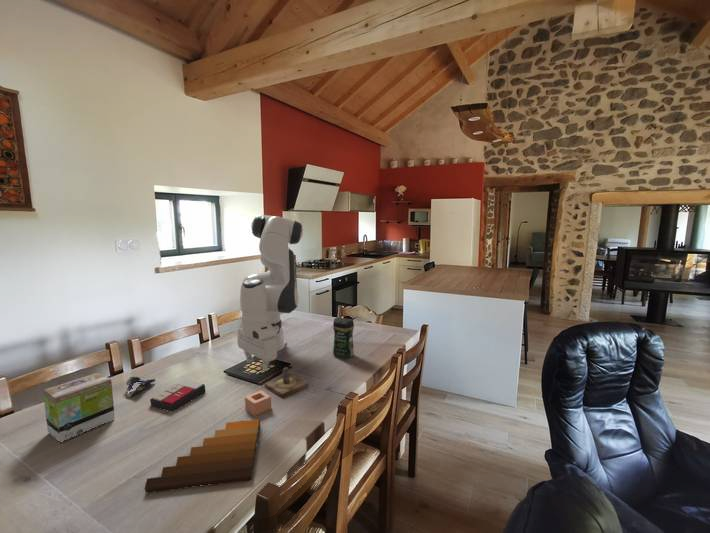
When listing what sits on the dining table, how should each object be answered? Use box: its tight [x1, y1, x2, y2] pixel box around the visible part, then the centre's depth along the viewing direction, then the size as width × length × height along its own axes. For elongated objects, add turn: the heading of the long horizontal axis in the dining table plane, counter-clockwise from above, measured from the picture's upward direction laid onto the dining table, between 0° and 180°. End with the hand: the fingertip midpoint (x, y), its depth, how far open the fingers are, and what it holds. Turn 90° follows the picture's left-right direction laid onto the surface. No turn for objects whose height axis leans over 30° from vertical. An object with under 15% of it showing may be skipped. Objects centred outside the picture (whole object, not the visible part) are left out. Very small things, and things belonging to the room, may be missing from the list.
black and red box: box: [149, 379, 207, 413], centre depth 131 cm, size 11×4×15 cm
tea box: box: [42, 372, 116, 443], centre depth 113 cm, size 15×10×15 cm, turn 148°
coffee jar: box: [332, 316, 355, 360], centre depth 169 cm, size 10×8×19 cm
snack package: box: [125, 376, 156, 398], centre depth 138 cm, size 12×6×12 cm
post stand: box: [264, 366, 309, 399], centre depth 139 cm, size 12×12×8 cm
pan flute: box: [144, 419, 261, 493], centre depth 101 cm, size 25×3×25 cm
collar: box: [244, 390, 272, 416], centre depth 124 cm, size 6×6×4 cm
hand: (257, 366), depth 122 cm, fingers open, 8 cm apart
